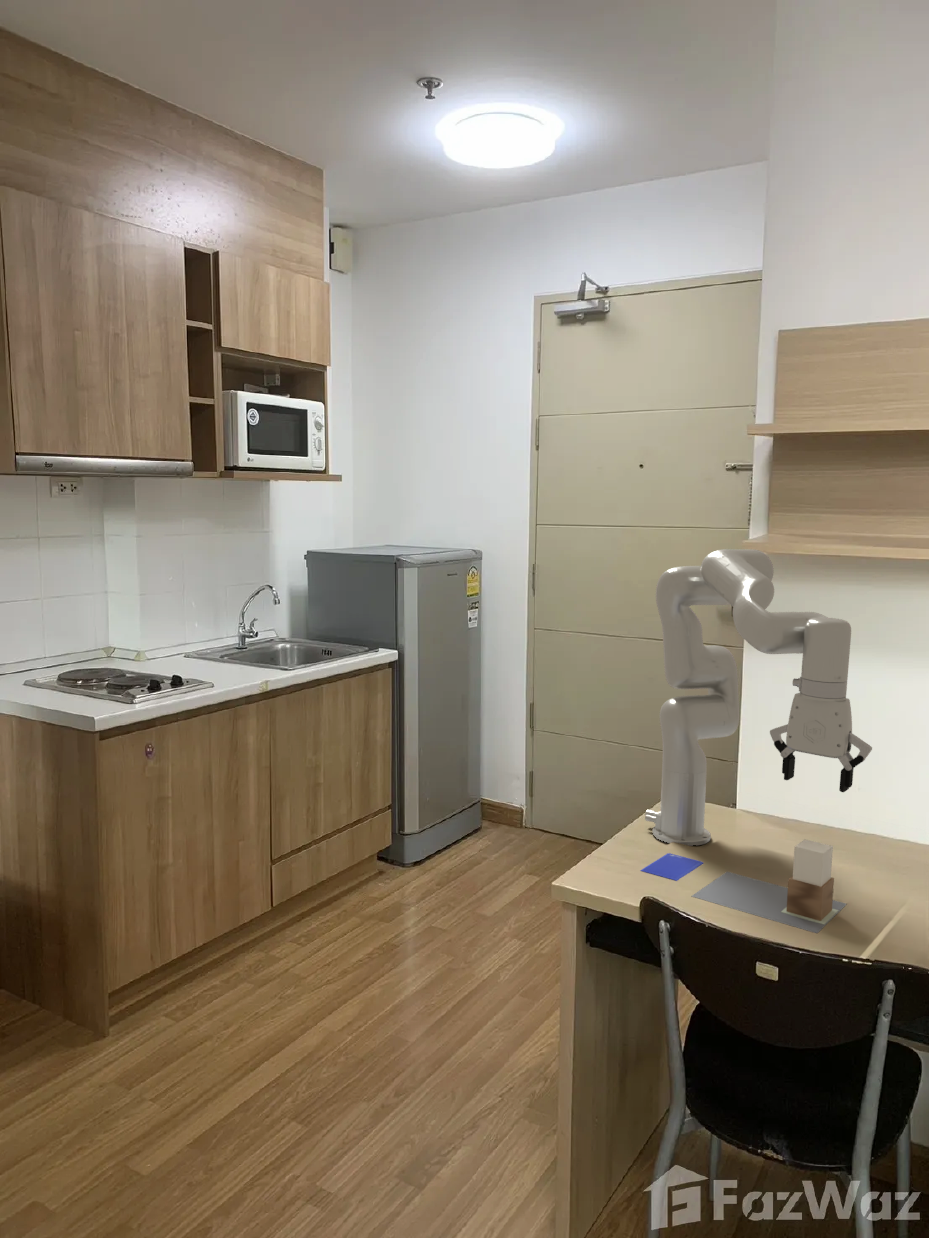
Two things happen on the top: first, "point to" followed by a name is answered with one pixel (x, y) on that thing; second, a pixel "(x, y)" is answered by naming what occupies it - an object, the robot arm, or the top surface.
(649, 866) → the blue square mat
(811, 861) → the cream block
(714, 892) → the board
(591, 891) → the top surface
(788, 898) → the walnut block
